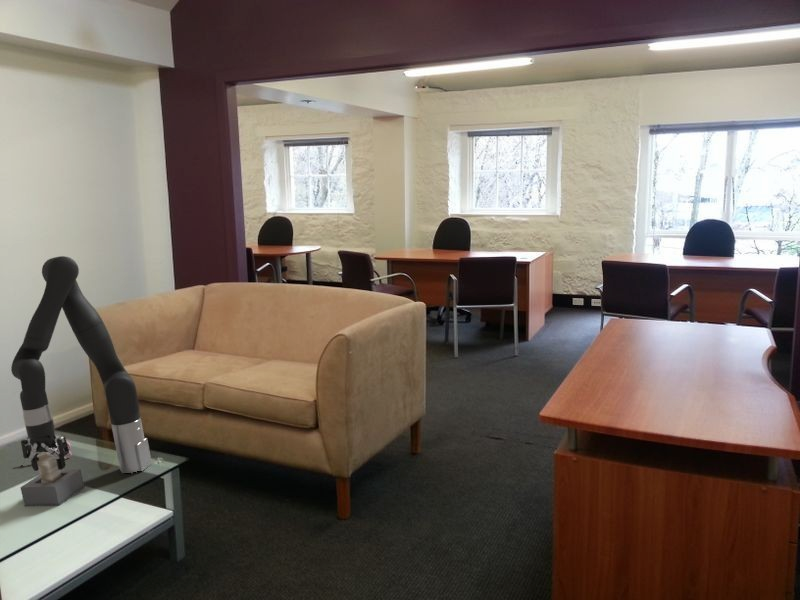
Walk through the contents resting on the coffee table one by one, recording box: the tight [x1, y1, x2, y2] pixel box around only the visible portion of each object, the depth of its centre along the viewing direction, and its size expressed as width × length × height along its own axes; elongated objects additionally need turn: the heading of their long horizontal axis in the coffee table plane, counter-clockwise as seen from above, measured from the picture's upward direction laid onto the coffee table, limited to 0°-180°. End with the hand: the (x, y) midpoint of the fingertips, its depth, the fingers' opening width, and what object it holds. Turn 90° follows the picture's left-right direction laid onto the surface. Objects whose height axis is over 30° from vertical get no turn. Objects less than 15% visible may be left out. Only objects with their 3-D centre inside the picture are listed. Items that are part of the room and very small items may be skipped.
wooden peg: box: [37, 455, 62, 483], centre depth 200 cm, size 4×4×12 cm
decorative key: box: [37, 440, 73, 460], centre depth 231 cm, size 7×1×20 cm
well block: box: [20, 468, 85, 507], centre depth 201 cm, size 12×12×6 cm
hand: (49, 469), depth 199 cm, fingers open, 8 cm apart
